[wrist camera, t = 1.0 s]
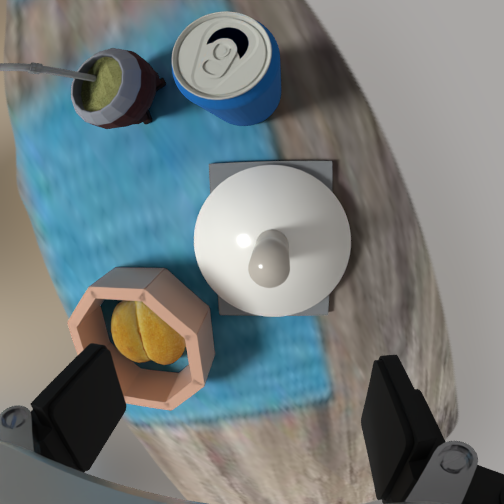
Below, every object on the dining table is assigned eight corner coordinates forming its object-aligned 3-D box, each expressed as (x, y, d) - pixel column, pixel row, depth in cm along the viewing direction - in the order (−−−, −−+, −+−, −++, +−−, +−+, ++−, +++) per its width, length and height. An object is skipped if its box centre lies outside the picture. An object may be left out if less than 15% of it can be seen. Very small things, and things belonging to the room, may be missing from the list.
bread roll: (193, 358, 35) (184, 379, 31) (126, 351, 36) (113, 370, 32) (184, 294, 33) (172, 312, 29) (111, 292, 34) (94, 307, 30)
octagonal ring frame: (84, 266, 33) (57, 284, 28) (206, 268, 31) (191, 290, 26) (111, 370, 37) (93, 396, 32) (218, 383, 36) (209, 414, 30)
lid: (191, 168, 28) (164, 172, 22) (350, 164, 27) (370, 167, 20) (203, 311, 32) (185, 348, 26) (344, 311, 31) (357, 349, 24)
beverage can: (294, 80, 25) (301, 32, 14) (259, 139, 27) (242, 126, 16) (232, 50, 25) (201, -7, 13) (197, 107, 27) (144, 81, 15)
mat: (210, 163, 28) (208, 164, 28) (331, 161, 27) (332, 161, 27) (220, 312, 33) (219, 314, 32) (327, 312, 32) (327, 315, 31)
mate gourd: (182, 109, 27) (95, 76, 13) (115, 147, 29) (7, 153, 14) (155, 49, 25) (68, -10, 11) (93, 88, 27) (-11, 66, 13)
